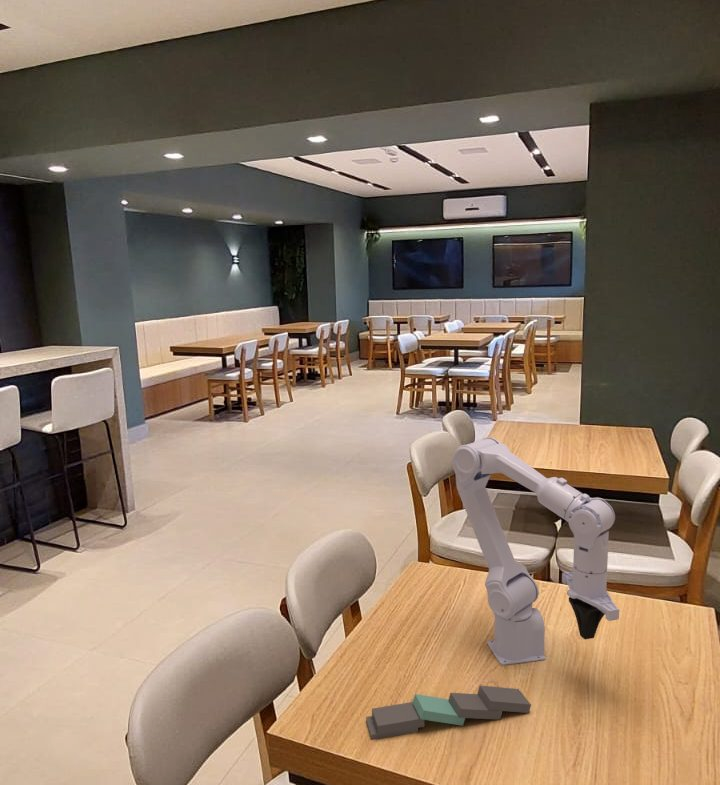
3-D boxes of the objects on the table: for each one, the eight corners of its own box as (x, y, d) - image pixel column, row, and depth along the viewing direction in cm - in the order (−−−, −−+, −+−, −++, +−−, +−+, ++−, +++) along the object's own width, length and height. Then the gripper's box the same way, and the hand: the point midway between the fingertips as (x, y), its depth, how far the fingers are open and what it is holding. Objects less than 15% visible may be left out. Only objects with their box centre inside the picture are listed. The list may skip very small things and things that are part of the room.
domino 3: (490, 695, 109) (450, 692, 107) (502, 711, 105) (460, 708, 103) (488, 703, 109) (448, 701, 107) (500, 719, 105) (458, 717, 103)
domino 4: (518, 689, 111) (479, 685, 108) (531, 704, 106) (490, 701, 104) (516, 697, 111) (477, 693, 108) (528, 713, 106) (488, 709, 104)
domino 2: (410, 710, 107) (366, 716, 105) (417, 727, 102) (371, 734, 101) (411, 718, 107) (366, 725, 106) (418, 735, 103) (371, 743, 101)
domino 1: (416, 701, 107) (371, 708, 105) (424, 718, 102) (378, 726, 101) (416, 709, 107) (372, 716, 105) (424, 726, 103) (378, 734, 101)
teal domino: (455, 700, 108) (415, 693, 106) (465, 717, 104) (423, 710, 102) (452, 708, 108) (412, 702, 106) (462, 725, 104) (420, 719, 102)
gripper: (548, 553, 115) (546, 619, 118) (594, 588, 102) (591, 663, 104) (581, 548, 117) (579, 614, 119) (631, 583, 103) (627, 656, 105)
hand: (587, 636), depth 112 cm, fingers closed
